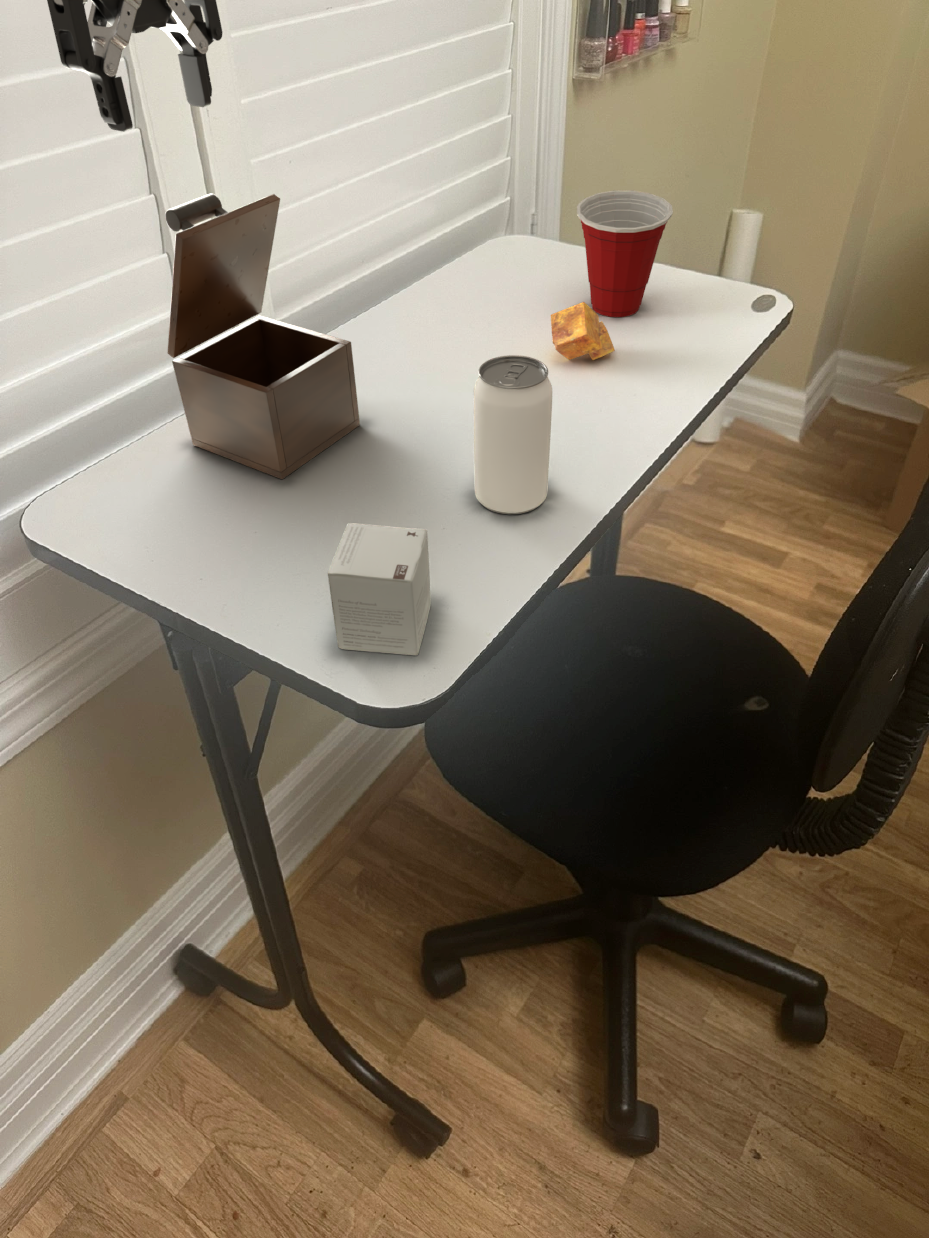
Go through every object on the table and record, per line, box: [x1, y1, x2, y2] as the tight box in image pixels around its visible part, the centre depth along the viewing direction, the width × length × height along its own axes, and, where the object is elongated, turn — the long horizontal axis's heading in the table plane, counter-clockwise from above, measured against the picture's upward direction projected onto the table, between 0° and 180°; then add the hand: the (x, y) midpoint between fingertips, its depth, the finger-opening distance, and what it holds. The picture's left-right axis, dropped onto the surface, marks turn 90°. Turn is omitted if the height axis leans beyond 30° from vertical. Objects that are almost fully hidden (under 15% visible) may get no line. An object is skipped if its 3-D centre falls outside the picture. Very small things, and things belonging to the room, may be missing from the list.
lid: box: [164, 193, 281, 359], centre depth 81 cm, size 12×12×5 cm
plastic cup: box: [576, 189, 674, 318], centre depth 106 cm, size 11×11×12 cm
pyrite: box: [550, 301, 616, 361], centre depth 99 cm, size 5×7×4 cm
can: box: [473, 354, 553, 515], centre depth 77 cm, size 6×6×12 cm
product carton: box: [327, 522, 432, 656], centre depth 65 cm, size 6×6×7 cm
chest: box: [171, 314, 361, 480], centre depth 86 cm, size 12×12×9 cm
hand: (161, 117), depth 74 cm, fingers open, 8 cm apart
